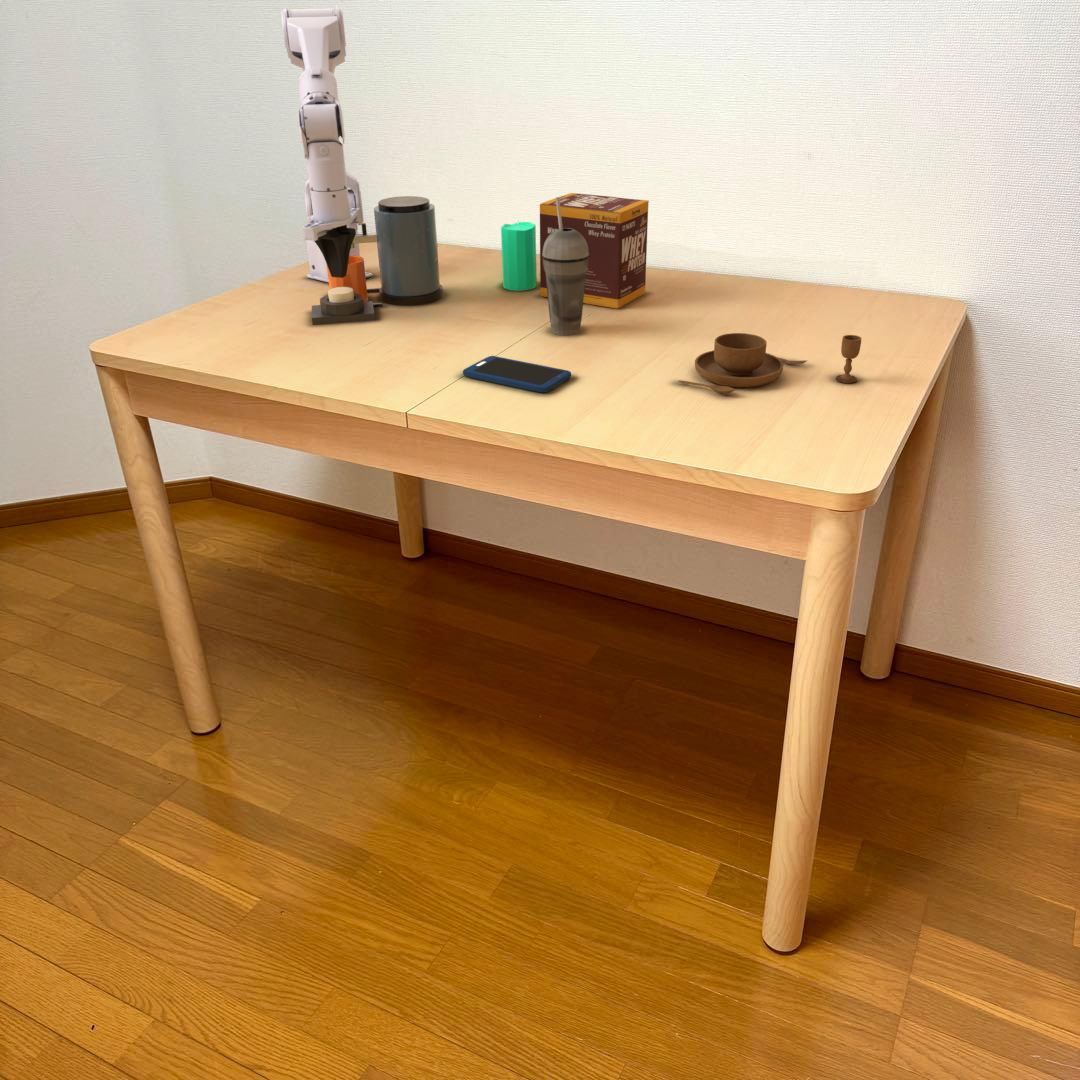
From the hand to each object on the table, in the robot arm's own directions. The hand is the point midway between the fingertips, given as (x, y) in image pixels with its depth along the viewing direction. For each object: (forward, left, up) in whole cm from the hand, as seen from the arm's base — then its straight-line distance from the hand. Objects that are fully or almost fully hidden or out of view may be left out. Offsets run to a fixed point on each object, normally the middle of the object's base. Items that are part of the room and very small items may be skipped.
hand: (338, 276), depth 163 cm
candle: (+12, +31, -7) cm, 34 cm away
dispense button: (0, 0, -4) cm, 4 cm away
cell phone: (+41, -4, -7) cm, 42 cm away
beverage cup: (+34, +16, -7) cm, 38 cm away
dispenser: (-2, +11, -7) cm, 13 cm away
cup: (-6, +7, -7) cm, 11 cm away
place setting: (+69, +15, -7) cm, 71 cm away
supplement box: (+26, +34, -7) cm, 43 cm away
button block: (0, 0, -7) cm, 7 cm away
